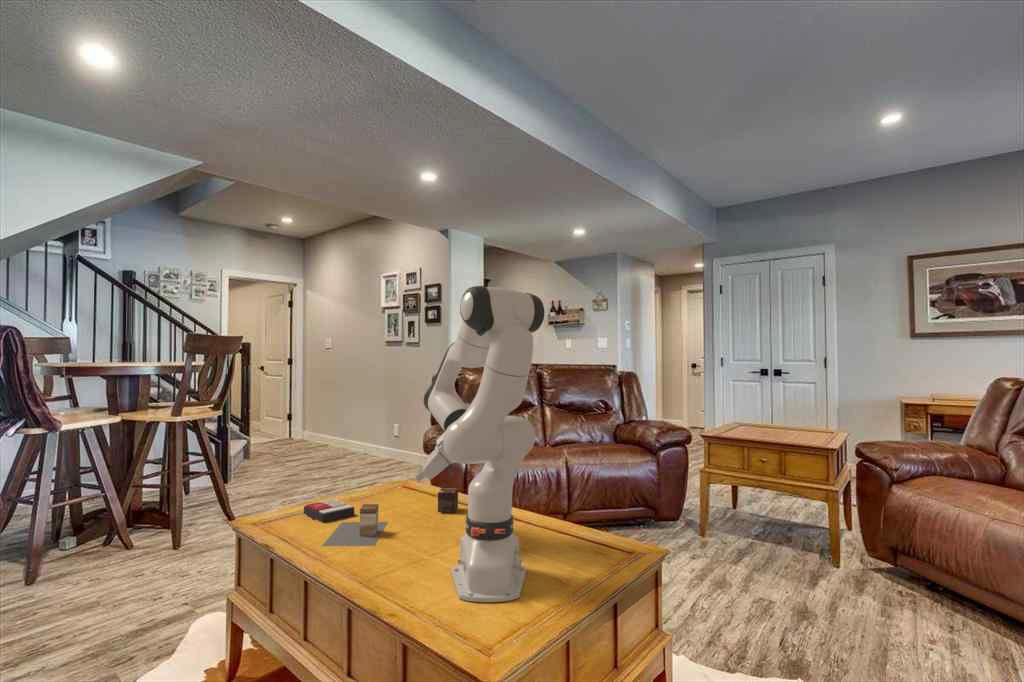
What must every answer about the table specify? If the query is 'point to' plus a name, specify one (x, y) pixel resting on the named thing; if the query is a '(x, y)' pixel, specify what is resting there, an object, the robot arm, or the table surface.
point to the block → (369, 519)
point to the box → (448, 500)
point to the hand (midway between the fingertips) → (417, 478)
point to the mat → (353, 535)
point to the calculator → (328, 510)
